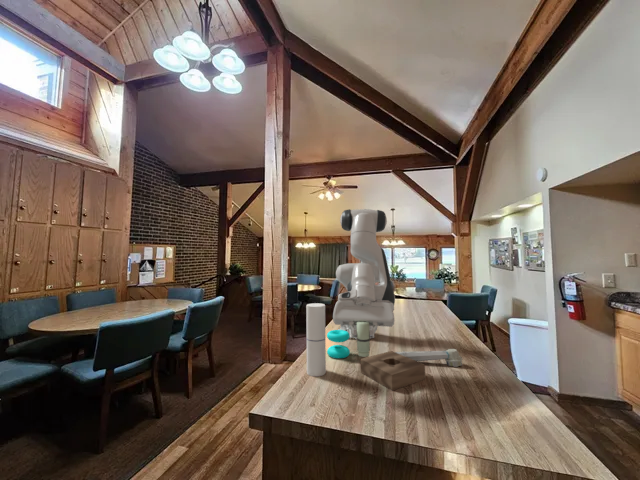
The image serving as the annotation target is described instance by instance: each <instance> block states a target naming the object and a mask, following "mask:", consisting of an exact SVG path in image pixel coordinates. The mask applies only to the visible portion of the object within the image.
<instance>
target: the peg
mask: <svg viewBox="0 0 640 480" xmlns="http://www.w3.org/2000/svg"><path fill="white" fill-rule="evenodd" d="M370 339H371V338H370V334H369V322H364V321H361V322H357V339H356V349H357V355H358V356H359V357H362V358H366V357H370V350H371V349H370V348H371V345H370V344H371V343H370V341H371V340H370Z"/></svg>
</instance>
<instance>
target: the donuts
mask: <svg viewBox="0 0 640 480" xmlns="http://www.w3.org/2000/svg"><path fill="white" fill-rule="evenodd" d="M326 337H327V338H326V339H328V340H329V341H330V342H332V343H333V342H334V343H344V342H347V341H348V340H349V337H350V334H349V333H348V332H347V331H344V330H337V329H332V330H329V331H328V332H327V334H326ZM326 350H327V351H326V353H327V355H328V356H329V357H330V358H333V359H345V358H348V357H349V356H350V355H351V351H350V349H349V348H348V346H346V345H344V344H342V345H341V344H333V345H331V346H329V347H328V348H327V349H326Z"/></svg>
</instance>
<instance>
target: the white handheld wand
mask: <svg viewBox="0 0 640 480" xmlns="http://www.w3.org/2000/svg"><path fill="white" fill-rule="evenodd" d="M394 352H395V353H398V354H400V355H403V356H405V357H408V358H410V359H412V360H415V361H417V362H425V361H426V362H427V361H436V360H437V361H439V360H444V361H445V363H446V365H447V366H449V367H454V368H458V367H459V366H460V367H461V366H463V362H462V361H463V357H462V356H461V355H460V353H459V351H458V350H457V348H456V349H455V348H448V349H447V350H428V351H427V350H423V351H422V350H420V351H419V350H418V351H405V350H403V351H397V352H396V351H394Z"/></svg>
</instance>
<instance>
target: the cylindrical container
mask: <svg viewBox="0 0 640 480" xmlns="http://www.w3.org/2000/svg"><path fill="white" fill-rule="evenodd" d="M305 308H306V313H305V314H306V316H305V317H306V319H305V321H306V329H305V330H306V374H307V375H308V376H310V377H321V376H324V375H326V371H327V369H326V368H327V367H326V366H327V365H326V363H327V362H326V359H327V356H326V353H327V351H326V350H327V349H326V305H325V303H321V302H320V303H318V302H317V303H316V302H314V303H307V304H306V306H305Z"/></svg>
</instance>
